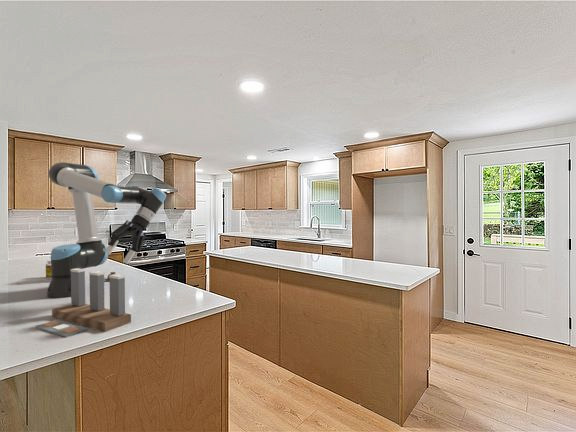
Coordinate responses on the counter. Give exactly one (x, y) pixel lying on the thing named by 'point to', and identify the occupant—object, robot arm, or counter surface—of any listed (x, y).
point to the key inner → (78, 287)
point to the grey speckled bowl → (108, 276)
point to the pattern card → (61, 328)
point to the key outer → (117, 294)
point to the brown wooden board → (91, 317)
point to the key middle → (96, 290)
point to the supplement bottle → (48, 269)
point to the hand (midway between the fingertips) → (116, 258)
